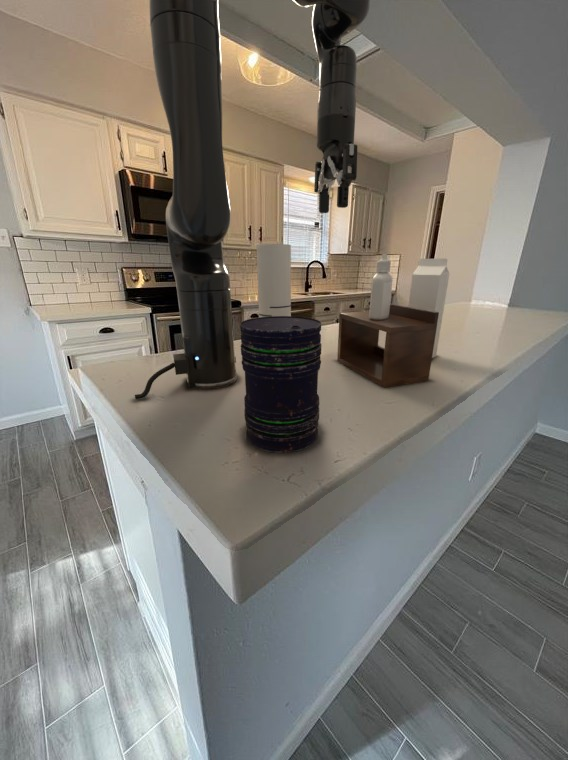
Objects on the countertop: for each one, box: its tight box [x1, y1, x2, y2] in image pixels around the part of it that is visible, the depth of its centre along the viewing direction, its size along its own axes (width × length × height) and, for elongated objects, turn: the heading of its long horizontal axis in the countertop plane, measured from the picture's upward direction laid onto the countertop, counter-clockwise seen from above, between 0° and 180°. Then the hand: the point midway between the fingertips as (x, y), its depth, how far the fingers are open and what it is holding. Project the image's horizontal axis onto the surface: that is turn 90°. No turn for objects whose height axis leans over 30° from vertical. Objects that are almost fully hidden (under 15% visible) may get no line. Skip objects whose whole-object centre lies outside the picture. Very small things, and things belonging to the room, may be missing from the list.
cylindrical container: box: [256, 243, 292, 318], centre depth 72 cm, size 7×7×25 cm
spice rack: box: [336, 303, 439, 388], centre depth 66 cm, size 10×18×13 cm, turn 20°
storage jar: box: [239, 315, 322, 454], centre depth 41 cm, size 10×10×15 cm
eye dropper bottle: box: [368, 252, 393, 320], centre depth 62 cm, size 4×6×12 cm
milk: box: [407, 258, 450, 359], centre depth 74 cm, size 6×6×22 cm
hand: (332, 210), depth 70 cm, fingers open, 8 cm apart
